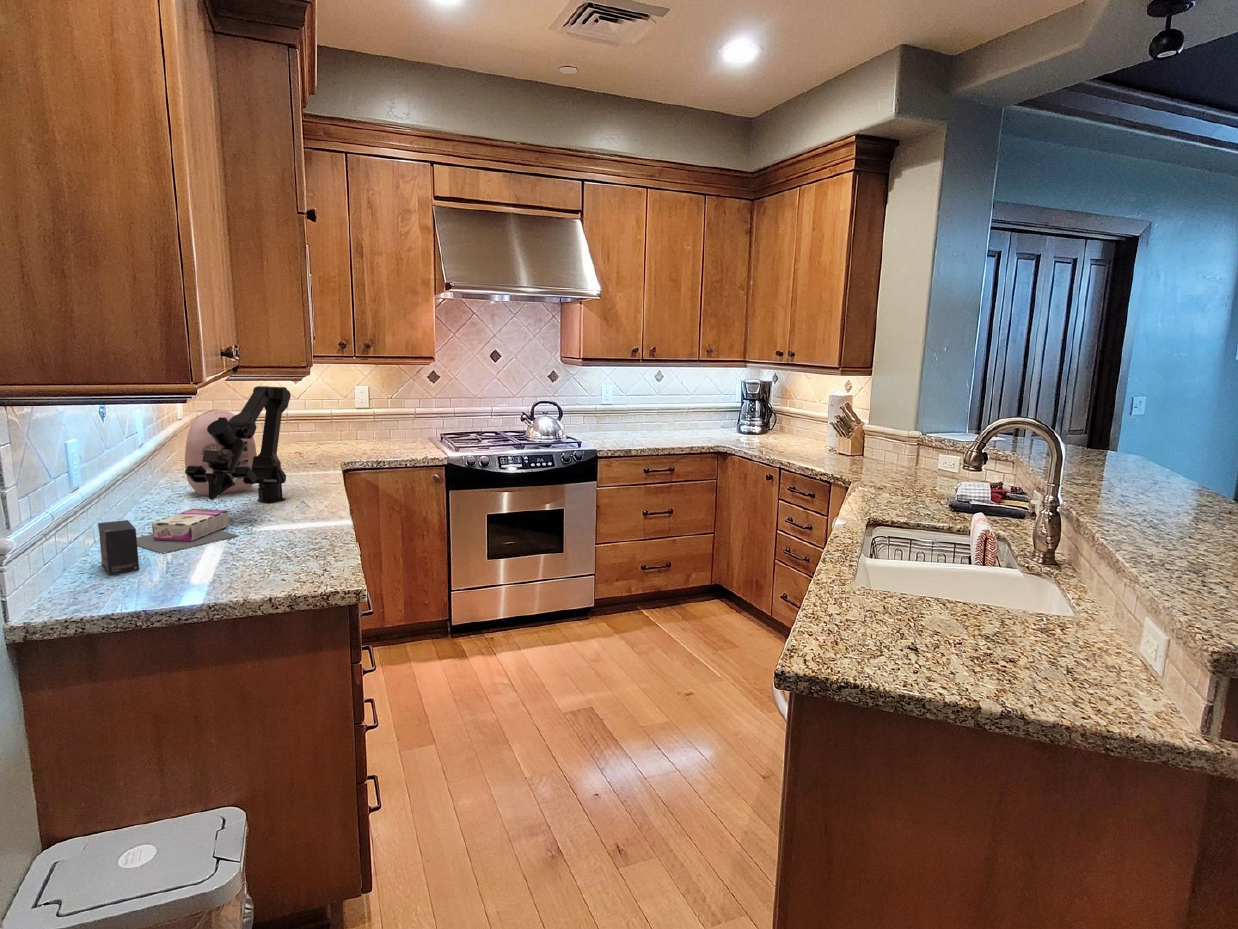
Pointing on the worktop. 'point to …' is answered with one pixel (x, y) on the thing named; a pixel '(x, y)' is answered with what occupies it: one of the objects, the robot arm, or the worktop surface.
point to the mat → (180, 542)
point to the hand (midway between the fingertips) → (211, 498)
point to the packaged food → (203, 441)
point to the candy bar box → (190, 525)
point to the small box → (118, 546)
